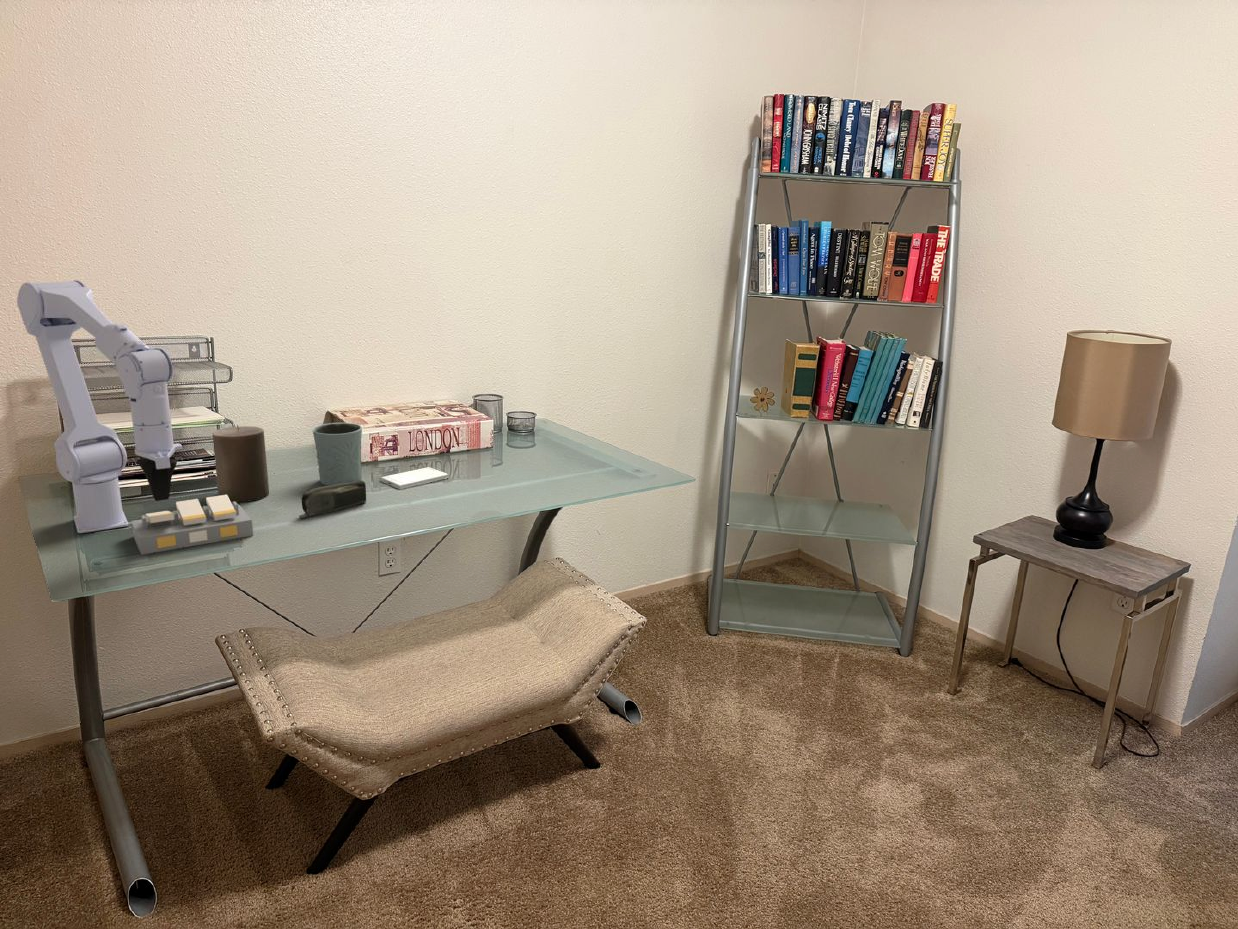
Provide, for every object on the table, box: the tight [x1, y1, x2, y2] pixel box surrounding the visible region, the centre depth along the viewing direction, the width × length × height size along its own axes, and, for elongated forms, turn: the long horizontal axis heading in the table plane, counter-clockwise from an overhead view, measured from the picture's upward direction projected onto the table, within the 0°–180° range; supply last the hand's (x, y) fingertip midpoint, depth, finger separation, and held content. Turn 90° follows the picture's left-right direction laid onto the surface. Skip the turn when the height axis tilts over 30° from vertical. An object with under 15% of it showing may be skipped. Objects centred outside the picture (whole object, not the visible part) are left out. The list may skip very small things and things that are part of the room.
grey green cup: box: [312, 422, 363, 486], centre depth 188 cm, size 10×10×12 cm
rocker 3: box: [205, 495, 236, 521], centre depth 157 cm, size 7×4×1 cm, turn 36°
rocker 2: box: [175, 498, 206, 526], centre depth 154 cm, size 7×4×1 cm, turn 36°
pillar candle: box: [211, 424, 270, 503], centre depth 176 cm, size 10×10×15 cm
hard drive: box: [379, 466, 449, 490], centre depth 192 cm, size 2×8×12 cm
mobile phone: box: [298, 480, 367, 519], centre depth 171 cm, size 5×3×15 cm
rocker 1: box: [145, 510, 174, 523], centre depth 151 cm, size 7×4×1 cm, turn 35°
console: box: [131, 501, 254, 555], centre depth 155 cm, size 10×18×5 cm, turn 125°
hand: (161, 499), depth 149 cm, fingers closed
